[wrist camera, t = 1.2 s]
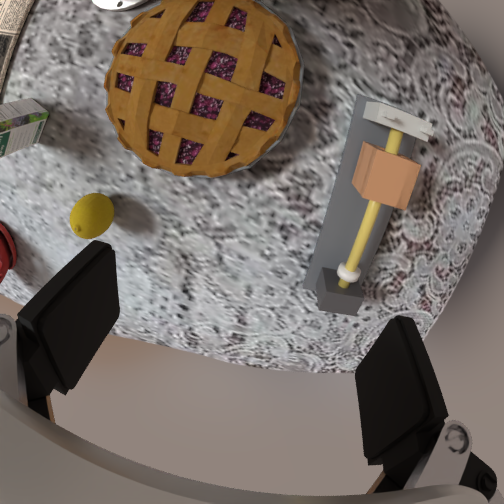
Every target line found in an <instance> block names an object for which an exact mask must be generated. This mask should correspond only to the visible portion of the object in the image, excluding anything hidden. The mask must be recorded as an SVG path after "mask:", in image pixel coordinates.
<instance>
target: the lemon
mask: <svg viewBox="0 0 504 504" xmlns="http://www.w3.org/2000/svg"><path fill="white" fill-rule="evenodd" d="M113 218H114V206H113V204H112V202H111V200H110V199H109V198H108V197H107V196H105V195H104V194H101V193H91V194H88V195H86V196H84V197H83V198H81V199H80V200H79V201H78V202H77V203H76V204H75V206H74V207H73V209H72V211H71V214H70V225H71V228H72V230H73V231H74V233H75V234H76V235H77V236H79V237H81V238H84V239H92V238H95V237H97V236H100V235H101V234H103V233H104V232H105V231H106V230H107V229H108V228H109V226H110V225H111V223H112V221H113Z"/></svg>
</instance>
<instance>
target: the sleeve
mask: <svg viewBox="0 0 504 504" xmlns="http://www.w3.org/2000/svg"><path fill="white" fill-rule="evenodd" d="M420 167H421V165H420V164H418V163H416V162H415V161H413V160H411V159H410V158H408V157H406V156H405V155H403V154H400V153H398V155H395V154H392V153H389V152H387V151H385V148H383V147H380V146H377V145H374V144H371V143H368V142H365V141H363V144H362V148H361V152H360V155H359V159H358V162H357V166H356V169H355V173H354V176H353V180H352V184H353V185H354V187H355V188H356V189H357V191H358V192H359V193H360V195H361V196H362V198H365V199H368V200H372V201H375V202H379V203H382V204H386V205H389V206H393V207H396V208H399V209H403V210H406V207H407V205H408V202H409V199H410V196H411V194H412V191H413V188H414V185H415V182H416V179H417V176H418V173H419V170H420Z"/></svg>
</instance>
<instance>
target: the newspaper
mask: <svg viewBox="0 0 504 504" xmlns="http://www.w3.org/2000/svg"><path fill="white" fill-rule="evenodd" d="M34 1H35V0H0V94H1V90H2V86H3V82H4V78H5V75H6V71H7V68H8V65H9V62H10V59H11V56H12V53H13V50H14V47H15V44H16V42H17V39H18V36H19V34H20V31H21V29H22V27H23V24H24V22H25V20H26V17H27V15H28V13H29V11H30V9H31V7H32V5H33V3H34Z"/></svg>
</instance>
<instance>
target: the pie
mask: <svg viewBox="0 0 504 504" xmlns="http://www.w3.org/2000/svg"><path fill="white" fill-rule="evenodd" d="M130 22H131V26H130V27H129V29H128V30H127V31H126V32H125V33H124V34H123V36H122V37H121V38H120V39H119V40H117V41H116V43H115V45H114V47H113V49H112V54H113V58H112V61H111V63H110V66H109V69H108V72H107V73H106V75H105V81H104V88H105V89H106V91H107V94H106V109H105V110H106V113H107V115H108V117H109V119H110V121H111V122H112V125H113V127H114V130H115V133H116V135H117V139H118V140H119V141H120V143H121V144H122V145H123V147H124V148H125V149H127V150H130V151H131V152H132V153H133V154H134V155H135V156H136V157H137V158H138V159H139V160H140V161H141V162H143V164H145V165H147V166H149V167H151V168H156V169H160V170H162V171H165V172H167V173H169V174H172V175H174V176H183V177H198V178H211V179H213V178H217V177H220V176H224V175H227V174H230V173H234V172H237V171H241V170H245V169H248V168H251V167H252V166H253V165H254V164H255V163H256V162H258V161H259V160H260V159H261V158H262V157H263V156H265V155H266V154H267V153H268V152H269V151H270V150H272V149H273V148H274V147H275V146H276V145H277V144H279V143H280V142H281V140H282V138H283V136H284V134H285V132H286V130H287V129H288V127H289V125H290V123H291V121H292V119H293V117H294V115H295V113H296V111H297V110H298V108H299V106H300V100H301V92H302V83H303V74H304V62H303V59H302V56H301V53H300V50H299V47H298V44H297V41H296V38H295V36H294V33H293V30H292V28H291V27H290V26H289V25H288V24H287V23H286V22H284V21H283V20H282V19H281V18H280V17H279V16H278V15H276V14H275V13H274V12H273V11H272V10H270V9H269V8H268V7H267V6H266V5H264V4H263V3H262V2H259V1H256V0H162V1H161V3H159V4H156V5H154V6H152V7H150V8H148V9H146V10H145V11H144V12H142V13H140V14H139V15H138V16H136V17H135V18H134V19H133V20H132V21H130Z"/></svg>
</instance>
